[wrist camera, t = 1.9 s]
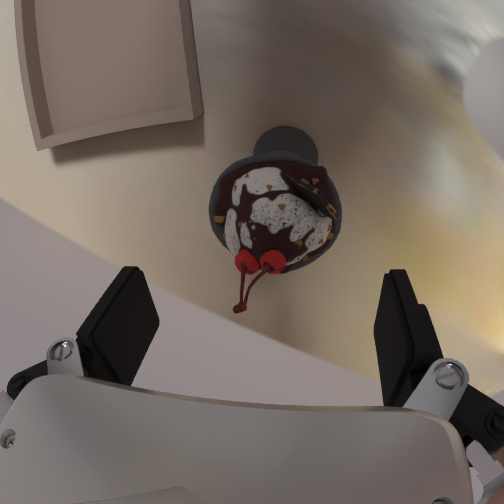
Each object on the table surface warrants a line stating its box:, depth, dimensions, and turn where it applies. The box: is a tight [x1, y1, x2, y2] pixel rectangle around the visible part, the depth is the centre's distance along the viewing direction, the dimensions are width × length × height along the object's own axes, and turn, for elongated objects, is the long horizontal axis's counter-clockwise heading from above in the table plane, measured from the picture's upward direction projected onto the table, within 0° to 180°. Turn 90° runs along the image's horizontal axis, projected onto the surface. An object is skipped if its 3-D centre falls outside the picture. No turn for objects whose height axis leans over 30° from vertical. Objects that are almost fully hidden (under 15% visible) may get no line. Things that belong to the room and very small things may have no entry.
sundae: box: [209, 127, 342, 314], centre depth 18 cm, size 7×7×15 cm
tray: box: [14, 0, 204, 151], centre depth 18 cm, size 20×16×2 cm
